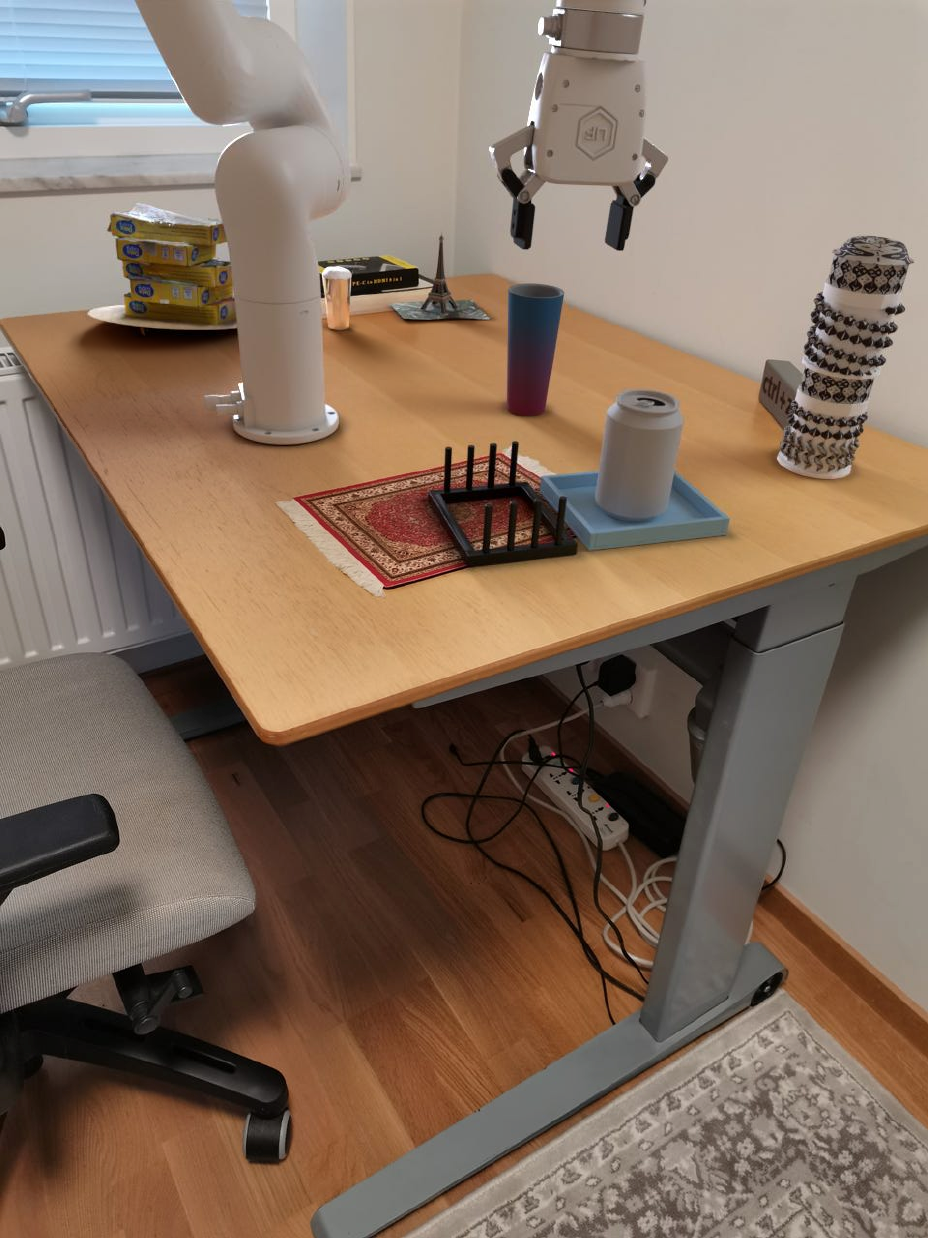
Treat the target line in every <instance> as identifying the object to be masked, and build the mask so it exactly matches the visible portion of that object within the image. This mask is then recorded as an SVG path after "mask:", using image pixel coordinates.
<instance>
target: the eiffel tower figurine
mask: <svg viewBox="0 0 928 1238" xmlns="http://www.w3.org/2000/svg"><path fill="white" fill-rule="evenodd" d="M442 233H443V230H442V228H441V230H440V236H439V238H438V241H439V243H438V244H439V245H438V255H437V265H436V273H435V278H433V279H434V281H433V285H432V288H431V290H430V292H428V294H427V297H426V298H425V300H422V301H405V302H393V303H389V305H390V306H391V307H392V308H393V310H395V311H396V312H397V313H398V315H399V316H401V318H402V319H406V320H407V319H409V320H441V319H443V320H448V319H469V320H470V319H474V320H491V318H490V317H489V316H488V315H487V314H486V313H485V311H483V310H482V308H480V307H479V306H478V304H477V303H476V302H475V301H474V300H473V299H457V300H455V299H453V297H452V292H451V291H449V289H448V284H447V281H446V280H447V278H446V275H445V267H444V266H445V265H444V236H443V234H442Z"/></svg>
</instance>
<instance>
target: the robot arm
mask: <svg viewBox="0 0 928 1238" xmlns="http://www.w3.org/2000/svg"><path fill="white" fill-rule="evenodd" d="M134 2H135V5H136V7H137V9H138V11H139V13H140V16H141V18H142V19H143V22H144V24H145V26H146V28H147V30H148V32H149V33H150V36H151V38H152V39H153V42H154V44H155V46H156V48H157V50H158V52H159V54H160V56H161V58H162V61H163V62H164V65H165V66H166V68H167V71H168V72H169V75H170V77H171V79H172V80H173V82H174V85H175V86H176V88H177V90H178V92H179V94H180V96H181V98H182V100H183V101H184V103H185V104H186V106H187V107H188V109H189V110H190V111H191V113H192V114H193V116H195V117H196V118H197V119H199V120H200V121H202V122H203V123H206V124H210V125H213V126H221V127H226V126H235V125H243V124H249V126H250V128H251V130H252V131H251V132H248V133H244V134H242V135H240V136H239V137H237V138H235V139H233V140H231V142H230V143H229V144H228V145H227V146H226V147H225V148H224V149H223V151H222V152H221V154H220V156H219V158H218V160H217V164H216V166H215V170H214V181H213V182H214V193H215V194H214V195H215V198H216V199H215V200H216V203H217V207H218V211H219V215H220V218H221V221H222V222H223V226H224V230H225V234H226V238H227V242H226V243H227V248H228V255H229V261H230V262H231V271H232V280H233V297H235V308H236V319H237V328H236V329H237V340H238V350H239V351H238V352H239V361H240V372H241V383H240V382H239V383H238V384H237V386H238V390H233V391H232V390H231V391H230V394H207V395H206V394H204V395H203V403H204V404H203V405H204V410H205V413H207V412H208V413H211V412H216V417H217V418H221V417H229V416H232V427H233V430H234V432H236V433H237V434H238V435H239V436H241V437H243V438H244V439H247V440H249V441H253V442H257V443H260V444H268V445H278V446H279V445H282V446H283V445H287V446H288V445H289V446H290V445H301V444H307V443H312V442H316V441H318V440H322V439H325V438H326V437H329V436H331V435H332V434H333V433H334V432H336V430H338V427H339V425H340V421H339V420H340V418H339V414H338V412H337V410H336V409H334V408H333V407H332V406H331V405H328V404H326V390H325V389H326V387H325V369H324V368H325V365H324V364H325V363H324V342H323V339H324V338H323V317H322V293H321V276H320V266H319V260H318V257H317V252H316V249H315V246H314V243H313V240H312V237H311V233H310V229H309V222H313V221H315V220H318V219H321V218H324V217H327V216H329V215H330V214H333V213H335V212H336V211H337V210H338V209H339V208H341V206H343V203H344V202H345V201H346V199H347V197H348V195H349V192H350V188H351V184H352V170H351V161H350V159H349V155H348V151H347V149H346V146H345V143H344V141H343V139H342V136H341V134H340V131H339V129H338V127H337V124H336V122H335V120H334V118H333V116H332V114H331V111H330V109H329V107H328V104H327V103H326V100H325V98H324V95H323V93H322V92H321V89H320V87H319V83H318V81H317V80H316V77H315V75H314V73H313V71H312V69H311V67H310V64H309V63H308V61H307V58H306V56H305V54H304V53H303V51H302V49H301V48H300V46H299V45H298V44H297V42H296V41H295V40H294V39H293V37H292V36H291V35H290V34H289V32H287V31H286V30H285V29H284V28H282V27H281V26H280V25H278V24H277V23H275V22H273V21H271V20H269V19H267V18H263V17H257V16H243V15H242V14H240V13H239V11H238V9H237V8H236V7H235V5H234V3H233V1H232V0H134ZM555 3H556V4H555V7H556V8H553V11H552V15H548V16H540V18H539V21H538V29H537V30H538V34H539V36H545V37H547V38H548V39H549V45H551V49H550V51H544V53H543V56H542V59H541V62H540V65H539V69H538V73H537V76H536V82H535V85H534V89H533V93H532V99H531V104H530V108H529V114H528V119H527V125H526V126H525V127H523V128H521V129H519V130H517V131H515V132H513V133H512V134H510V135H508V136H506V137H504V138H503V139H500V140H498V141H497V142H495V143H492V145H491V146H490V147H489V155H490V157H491V161H492V163H493V166H494V169H495V171H496V177H497V179H498V180H499V181H500V183H501V184H502V185H503V186H504V188H505V189H506V191H507V193H508V194H509V196H510V197H511V198H512V199H513V200H512V207H511V218H510V230H509V231H510V232H509V233H510V237H511V238H513V244H515V245H516V247H519V248H520V249H522V250H525V251H526V250H528V251H529V249H531V247H532V241H533V234H534V233H533V232H534V223H535V214H536V205H535V204H534V203H532V198H533V197H534V196H535V195H536V194H537V193H538V192H539V191H540V189H541V188H542V187H543V186H544V185H545V184H546V183H548V184H554V185H568V186H569V185H572V186H573V185H574V186H601V187H602V186H603V187H604V186H605V187H611V188H612V190H613V192H614V194H615V196H616V199H612V201H611V202H610V205H609V210H608V211H609V212H608V218H607V223H606V231H605V237H604V243H605V244H606V245H607V246H609V247H610V248H612V249H614V250H616V251H617V252H623V251H624V249H625V247H626V246H625V245H626V241H627V240H628V239H629V237H630V234H631V233H630V232H631V227H632V221H633V215H634V210H635V209H634V208H635V207H637V206H638V205H640V204H641V203H640V202H641V199H642V198H643V197H645V195H646V194H648V193H649V191H650V190H652V189H653V188H654V186H655V185H656V180H657V178H659V176H660V175H661V173H662V172H663V170H664V168H665V167H666V165H667V163H668V161H669V156H668V154H666V153H665V152H664V151H663V150H661V148H659V147H658V146H656V144H654V143H653V142H651V141H650V140H649V139H648V138H646V137H645V125H646V115H647V113H646V112H647V95H648V94H647V93H648V91H647V89H648V88H647V86H648V81H647V79H648V78H647V76H648V74H647V72H648V71H647V61H646V60H641V59H638V57H639V50H640V44H641V39H642V34H643V33H642V31H643V26H644V19H645V16H644V15H645V12H646V8H647V7H646V6H647V0H556V2H555ZM522 150H523V167H524V170H523V171H522V172H521V173H520V175H519V176H518V175H517V173H515V171H514V170H513V167H512V163H511V158H512V156H513V155H515V154H516V153H518V152H520V151H522ZM642 157H643V158H644V159H645V164H644V166H643V169H642V171H641V172H640V173H639V171H640V166H641V160H642Z"/></svg>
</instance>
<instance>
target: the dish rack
mask: <svg viewBox="0 0 928 1238" xmlns="http://www.w3.org/2000/svg"><path fill="white" fill-rule="evenodd" d="M519 445H520V443H519V441H516V440H513V441H512V442H511V449H510V450H511V452H510V461H509V463H510V464H509V477H508V482H507V483H496V484H495V477H496V476H495V475H496V462H497V448H498V444H497V443H496V442H490V444H489V452H488V453H489V455H488V468H487V469H488V471H487V484H485V485H484V484H483V485H476V486H473V485H474V484H473V481H474V465H475V463H474V462H475V450H476V449H475V445H474V444H468V445H467V453H466V471H465V472H466V473H465V486H463V487H453V488H452V487H451V482H452V460H453V459H452V458H453V447H452V446H445V448H444V467H443V470H444V471H443V488H442V489H431V490H428V491H427V501H428V504H429V505H430V507H431V508H432V510H433V511H434V513H435V515H436V517H437V518H438V520H439V522H440V524H441V525H442V527H443V529H444V530H445V532H446V534H447V535H448V537H449V539H450V540H451V542H452V545H454V547H455V549H456V550H457V552H458V554H459V555H460V557H461V560H463V562H464V564H465V566H466V567H467V568H472V567H473V568H474V567H482V566H490V565H498V564H507V563H516V562H524V561H525V562H526V561H533V560H541V559H549V558H559V557H566V556H575V555H577V554H578V548H579V543H578V542H577V540H576V539H575V538H574V537H573V535H571V533H569V531H568V530H567V529H566V527H565V522H564V519H565V511H566V503H567V497H565V496H561V497H560V498H559V506H558V513H556V514H557V516H556V515H555V514H554V513H553V511H552V510H551V509H550V507H548V505H547V503H545V502H544V501H543V499H542V498H541V496H539V494H538V493H537V492H536V491H535V490H534V488H533V487H532V485H531V484H529V482H528V481H516V480H517V470H518V469H517V468H518V457H519ZM513 497H514V498H515V497H521V499H522V500H523V501H524V502H525V503H526V505H527V506H528V507H529V509H530V510H531V511H532V513H533V516H532V517H533V518H532V519H533V520H532V528H531V538H530V543H528V544H519V545H515V543H516V530H517V519H518V509H519V501H516V500H514V501H513V500H512V501H510V503H509V515H508V526H507V538H506V546H500V547H494V548H492V547H491V542H492V541H491V540H492V539H491V538H492V525H493V514H494V513H493V511H494V510H493V509H494V505H493V504H492V503H485V505H484V517H483V519H484V520H483V533H482V548H481V549H475V548H474V546H473V545H472V543H471V542H470V540H469V538H468V537H467V535H466V533H465V532H464V531H463V529H462V527H461V526H460V523H459V522H458V521H457V519H456V518H455V516H454V514H453V513H452V511H451V509H450V508H449V506H448V505H447V504H453V503H462V502H472V501H473V502H474V501H484V500H494V499H504V498H513ZM541 524H542V525H543V527H544V528H545V529H546V530H547V532H548V533H549V534H550V535H551V536H552V538H553V539H554V541H545V542H539V541H540V531H541Z"/></svg>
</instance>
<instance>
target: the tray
mask: <svg viewBox="0 0 928 1238" xmlns="http://www.w3.org/2000/svg"><path fill="white" fill-rule="evenodd" d="M598 473H599V470H590V471H582V472H571V473H560V474H559V473H558V474H548V475H541V476H540V485H539V493H540V494H541V495H542V497H543V498H544V499H545V500H546V502H547V503H548V504H549V505H550V506H551V507H552V509H553V510H554V511H555V513H556V514H558V506H559V498H560V497H561V496H565V497H567V503H566V511H565V519H564V524H566V525H567V527H568V528H569V529H570V530H571V532H572V533H573V534H574V535H575V536H576V538H577V539H578V540H579V541H580V543H581V544H582V545H583V546H584V547H585V549H587V551H588V552H591V551H600V550H610V549H616V548H626V547H634V546H643V545H651V544H660V543H669V542H677V541H685V540H686V541H687V540H694V539H695V540H696V539H702V538H711V537H721V536H727V535H728V529H729V525H730V522H731V521H730V520H731V517H729V516H728V515H727V514H726V513H725V512H724V511H722V510H721V509H720V508H719V507H718V506H717V505H715V504H714V503H713V502H712V501H711V500H710V499H709V498H707V497H706V496H705V495H704V494H703V493H702V492H701V491H699V490H698V489H697V488H696V487H695V486H694V485H693V484H691V482H689V481H688V480H687V479H686V478H685V477H683V476H682V475H681V474H680V473H679V472H678V471H677V470H675V471H674V476H673V481H672V486H671V491H670V497H669V502H668V507H667V509H666V511H665V512H663V513H662V514H660V515H658V516H657V517H655V518H654V519H652V520H649V521H645V522H628V521H623V520H619V519H616V518H613V517H611V516H609V515H608V514H606V513H605V512H604V511H603V509H602V508H601V507H600V506H599V505H598V503H597V502H596V500H595V494H596V487H597V480H598Z"/></svg>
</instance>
